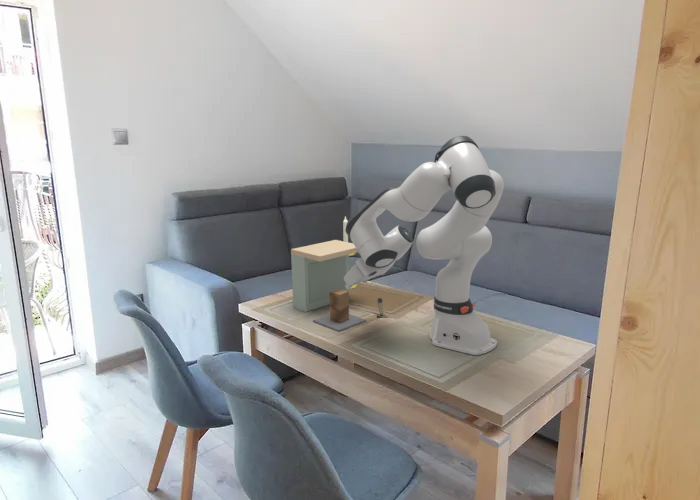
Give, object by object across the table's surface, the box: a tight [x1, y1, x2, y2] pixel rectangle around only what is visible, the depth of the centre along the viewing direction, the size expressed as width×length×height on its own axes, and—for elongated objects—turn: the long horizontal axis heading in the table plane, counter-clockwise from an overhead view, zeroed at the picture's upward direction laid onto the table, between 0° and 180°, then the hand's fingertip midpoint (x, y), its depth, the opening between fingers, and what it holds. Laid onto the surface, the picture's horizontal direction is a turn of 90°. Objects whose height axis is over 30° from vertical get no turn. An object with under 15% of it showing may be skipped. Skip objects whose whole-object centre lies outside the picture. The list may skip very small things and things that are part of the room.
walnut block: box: [329, 289, 350, 324], centre depth 184 cm, size 5×5×11 cm
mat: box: [312, 313, 367, 333], centre depth 185 cm, size 14×14×1 cm
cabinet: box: [290, 239, 359, 313], centre depth 201 cm, size 17×24×24 cm
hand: (355, 284), depth 178 cm, fingers open, 8 cm apart
